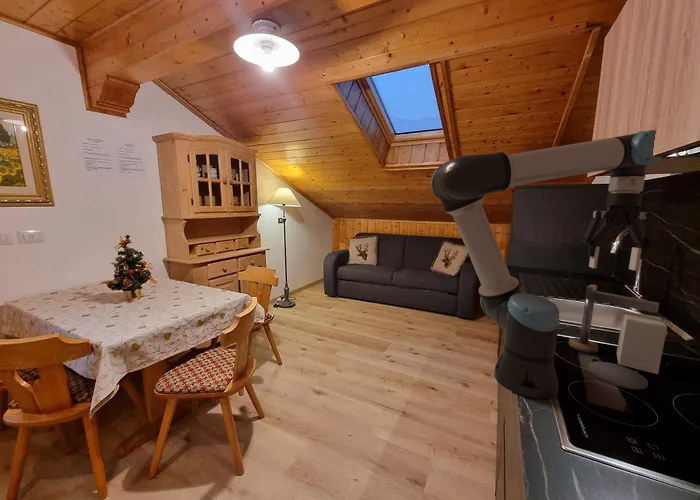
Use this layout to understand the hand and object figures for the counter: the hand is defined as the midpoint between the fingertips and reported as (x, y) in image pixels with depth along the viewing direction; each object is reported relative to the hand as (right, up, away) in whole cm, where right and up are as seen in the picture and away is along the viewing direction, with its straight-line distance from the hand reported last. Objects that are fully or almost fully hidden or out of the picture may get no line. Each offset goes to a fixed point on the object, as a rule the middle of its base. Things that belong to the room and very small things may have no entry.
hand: (612, 268), depth 92 cm
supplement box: (+10, -30, +3) cm, 32 cm away
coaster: (-2, -31, -4) cm, 31 cm away
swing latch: (+6, -27, +8) cm, 29 cm away
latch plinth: (+2, -28, +14) cm, 31 cm away
